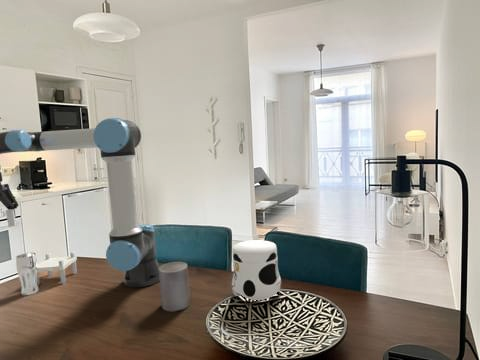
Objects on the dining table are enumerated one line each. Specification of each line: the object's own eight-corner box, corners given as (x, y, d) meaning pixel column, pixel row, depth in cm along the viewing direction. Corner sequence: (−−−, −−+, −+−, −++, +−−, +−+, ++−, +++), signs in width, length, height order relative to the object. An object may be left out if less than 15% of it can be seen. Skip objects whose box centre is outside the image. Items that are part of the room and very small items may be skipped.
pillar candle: (173, 297, 127) (169, 256, 125) (196, 300, 122) (192, 259, 121) (155, 309, 118) (151, 266, 116) (179, 314, 114) (175, 269, 112)
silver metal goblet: (18, 297, 134) (13, 259, 132) (21, 290, 140) (17, 254, 138) (39, 293, 136) (35, 256, 135) (41, 287, 143) (37, 251, 141)
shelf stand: (78, 272, 158) (76, 251, 157) (65, 283, 145) (62, 261, 144) (48, 274, 158) (46, 253, 157) (33, 285, 145) (30, 263, 144)
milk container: (224, 293, 128) (221, 244, 126) (265, 282, 135) (263, 236, 134) (247, 312, 112) (244, 257, 110) (291, 299, 120) (289, 247, 118)
